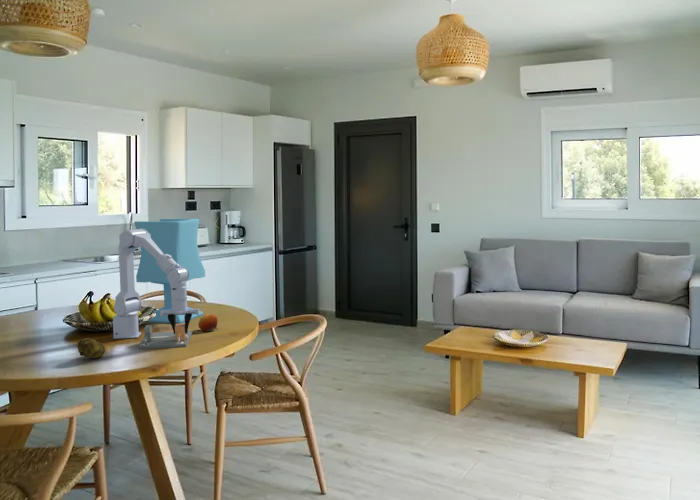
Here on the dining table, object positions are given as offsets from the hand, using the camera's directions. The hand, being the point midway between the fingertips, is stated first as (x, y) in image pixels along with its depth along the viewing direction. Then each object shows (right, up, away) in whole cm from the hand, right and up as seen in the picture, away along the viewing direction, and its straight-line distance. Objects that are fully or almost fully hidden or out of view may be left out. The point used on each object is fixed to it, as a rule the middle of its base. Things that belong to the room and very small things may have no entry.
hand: (180, 333), depth 255 cm
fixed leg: (-12, -3, -3) cm, 13 cm away
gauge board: (-6, -3, +3) cm, 7 cm away
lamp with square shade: (-15, +1, +46) cm, 48 cm away
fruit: (+6, -2, +20) cm, 21 cm away
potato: (-25, -6, -22) cm, 34 cm away
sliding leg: (0, -2, -2) cm, 3 cm away
